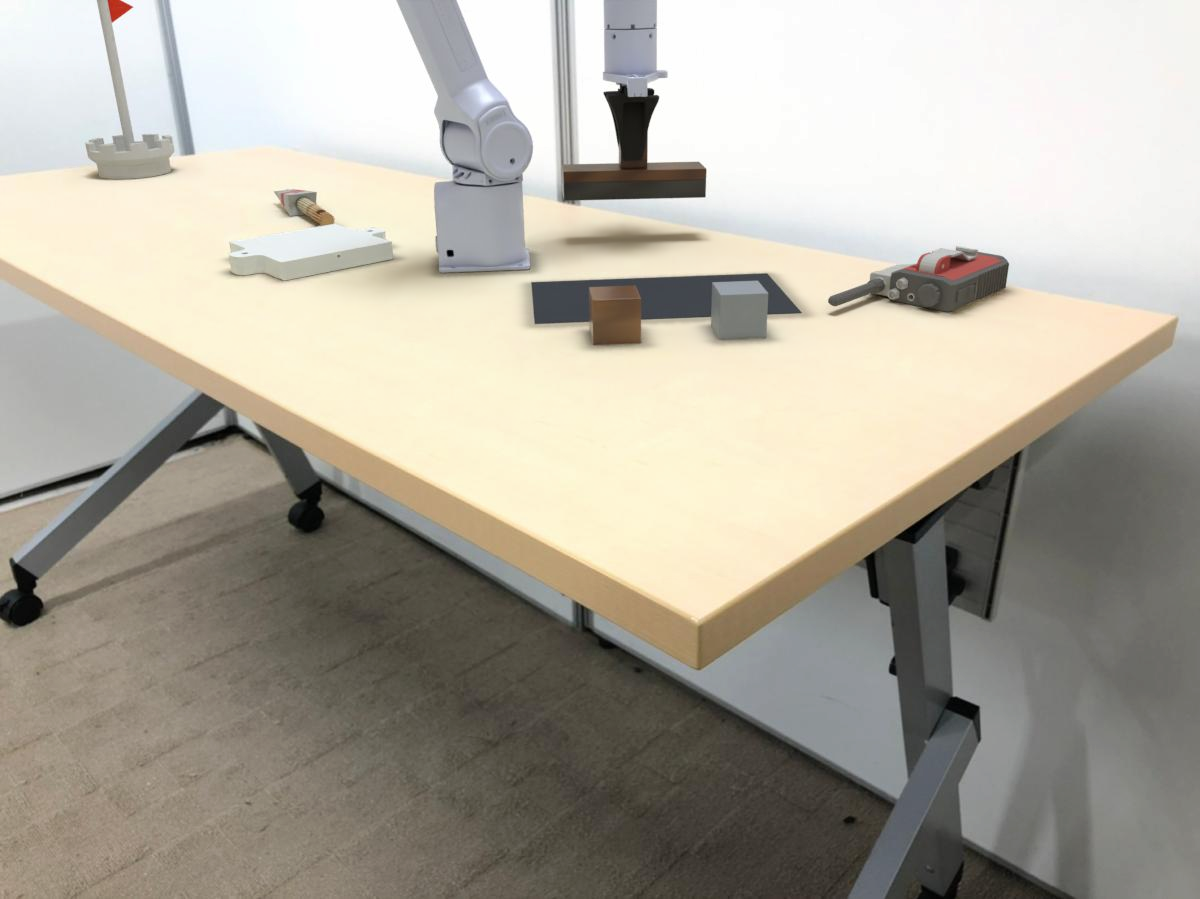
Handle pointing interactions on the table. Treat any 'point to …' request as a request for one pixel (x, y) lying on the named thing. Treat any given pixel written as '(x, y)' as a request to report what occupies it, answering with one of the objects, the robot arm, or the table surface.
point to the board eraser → (633, 180)
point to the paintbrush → (304, 205)
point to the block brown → (615, 315)
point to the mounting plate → (309, 251)
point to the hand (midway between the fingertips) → (631, 158)
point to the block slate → (739, 310)
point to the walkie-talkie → (936, 280)
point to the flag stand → (126, 120)
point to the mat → (648, 297)
